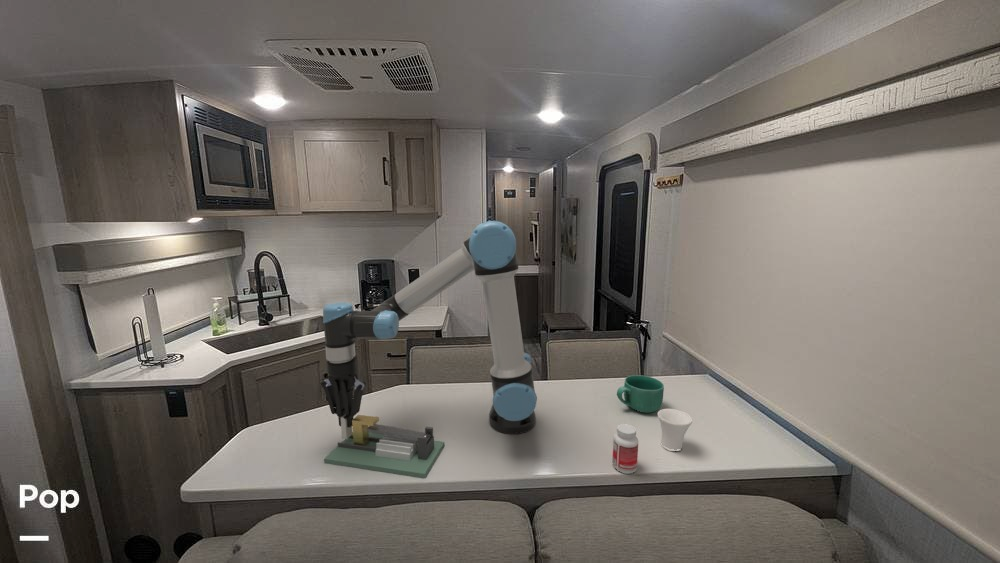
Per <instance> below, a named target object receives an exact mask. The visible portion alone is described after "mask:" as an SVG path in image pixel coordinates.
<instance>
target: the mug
mask: <svg viewBox="0 0 1000 563" xmlns="http://www.w3.org/2000/svg"><path fill="white" fill-rule="evenodd" d="M664 386H665V385H664V383H663V382H662V381H661V380H659V379H657V378H654V377H651V376H648V375H640V374H634V375H633V374H632V375H629V376H626V378H624V384H623V386H620V387H618V389H617V391H616V396H617V398H618V400H619V401H620V402H621V403H622V404H624V405H626V406H628V407H630V408H631V409H633V410H634V409H635V411H636V410H637V411H636V412H639V411H641V412H640V413H643V412H649V413H653V412H656V411H659V410H660V409H661V407H662V404H663V401H664V393H665V392H664V391H665V389H664V388H665V387H664Z"/></svg>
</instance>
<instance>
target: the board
mask: <svg viewBox="0 0 1000 563" xmlns="http://www.w3.org/2000/svg"><path fill="white" fill-rule="evenodd" d="M426 432H430V433H431V437H430V438H429V440H428V441H427V443H426V437H424V436H419V437H418V441H413V440H408V439H402V438H397V437H391V436H386V435H380V434H375V433H369V442H368V443H367V444H366V445H365V446H362V445H355V444H354V441H353V431H352V435H351V436H350V437H349V438H348V439H343V441H341V442H337V446H336V447H335V448H334V449H333V450H331V452H329V453H328V455H326V456H325V457H324V458H323V462H324V463H323V464H329V465H336V466H344V467H350V468H356V469H363V470H369V471H370V470H371V471H376V472H381V473H389V474H396V475H402V476H409V477H413V478H414V477H415V478H422V479H426V477H427V475H428V474H429V472H430V471H431V469H432V467H433V466H434V464H435V462H436V461H437V459H438V457H439V456H440V454H441V452H442V450H443V449H444V447H445V441H440V440H435V436H434V427H433V426H425V427H424V433H426Z"/></svg>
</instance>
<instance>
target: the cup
mask: <svg viewBox="0 0 1000 563" xmlns="http://www.w3.org/2000/svg"><path fill="white" fill-rule="evenodd" d="M657 417H658V420H659V422H660V428H661V439H660V444H661V443H662V445H663V446H665V447H667V448H669V449H674V450H677V449H681V448H682V449H683V443H684V439H685V435H686V433H687V431H688V429H689V427H690V426H692V424H693V419H692V416H690V414H688V413H687V412H684V411H682V410H680V409H675V408H663V409H659V410H658V411H657ZM662 445H661V446H662Z"/></svg>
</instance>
